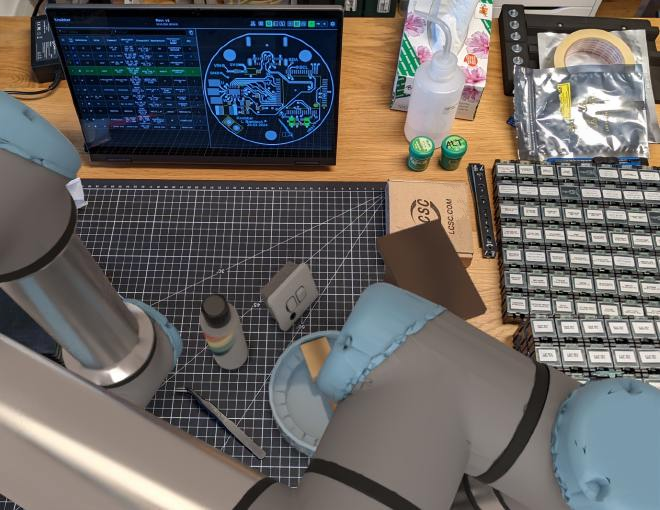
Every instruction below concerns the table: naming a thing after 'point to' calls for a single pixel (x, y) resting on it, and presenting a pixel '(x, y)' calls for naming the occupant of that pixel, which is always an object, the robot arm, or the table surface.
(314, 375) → the wooden mallet
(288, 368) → the bowl
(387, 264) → the stand
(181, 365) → the table surface
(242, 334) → the lotion bottle
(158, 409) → the table surface
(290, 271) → the electrical switch
